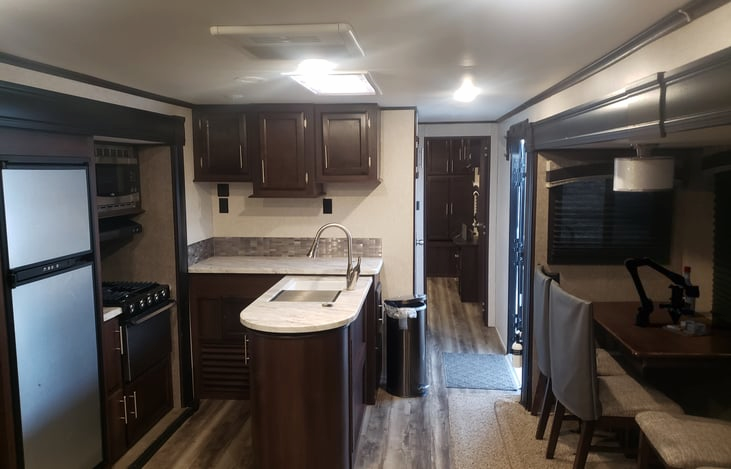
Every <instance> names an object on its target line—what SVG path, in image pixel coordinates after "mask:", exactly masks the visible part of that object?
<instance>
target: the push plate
mask: <svg viewBox="0 0 731 469" xmlns="http://www.w3.org/2000/svg"><path fill="white" fill-rule="evenodd" d="M694 323H695V321H694V320H692V319H691V320H689V319H688V320H681V321H680V324H681V326H677V327H678V328H683V329H684V330H687V325H688V324H694Z"/></svg>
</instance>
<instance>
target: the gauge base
mask: <svg viewBox="0 0 731 469" xmlns="http://www.w3.org/2000/svg"><path fill="white" fill-rule="evenodd" d="M677 326H681V323H680V324H670V325H664V326H662V330H665V331H668V332H671V333H674V334H677V335H679V336H683V337H687V338H690V337H698V336H707V335H709V331H707V330H706V329H707V328H706V327H707V326H706V324H703V323H701V322H694V324H688V325H687V330H684V329H683V328H678V327H677Z"/></svg>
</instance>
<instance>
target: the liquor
mask: <svg viewBox="0 0 731 469" xmlns="http://www.w3.org/2000/svg"><path fill="white" fill-rule="evenodd" d="M691 272H692V266H687V265H685V266H684V267H683V277H684V278H685V283H686V284H687V285H692V286H694V284H692V282H691ZM678 286H679V287H682V286H681V285H678ZM683 299H685V302H687V303H690V304H692V305H691V307H690V309H692V310H694V315H688V316H686V315H681V317H684V318H693V317H694V316H696V299H697V298H690V297H686V295H684V290H683ZM682 309H687V308H682ZM678 310H679V309H678Z"/></svg>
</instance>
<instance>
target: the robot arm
mask: <svg viewBox="0 0 731 469" xmlns="http://www.w3.org/2000/svg"><path fill="white" fill-rule="evenodd" d="M623 263H624V267H625V268H626V269H627V271H628V273H629V274H630V276H631V279H632V281H633V284H634V287H635V290H636V292H637V294H638V297H639V303H640V304H639V305H640V306H639V307H637V309H636V312H637V314H636V315H635V316H636V317H635V318H636V319H635V323H633V325H635V326H637V327H641V328H646V327H647V328H648V327H652V325H651V324H650V319H651V317H650V315H651V314H652V313H653V312H654V310H655V305H654V304H653V300H652V298H651V297H648V296H647V294H646V290H645V288H644V286H643V283H642V280H641V278H640V276H639V270H638V268H640V267H642V266H648V267H649V268H652V269H653V270H655V271H656V272H658V273H660V274H661V275H663V276H665V278H667V279H669V280H670V281H671V282H672V283H670V284H669V285H667V288H668V289H670V290H671V294H670V295H671V296H670V297H669V299H668V300H669V301H670V302H660V303H659V304H658V308H659V309H661V310H664V309H665V308H666V309H667V310H666V312H667V313H668V315H669V316H670V318H671V320H672V323H673V325H678V323H679V320H680V318H681V317H682V316H681V315H686V316H688V315H694V310H692V309H690V307H691V305H692V304H690V303H687V302H685V299H683V290H684V295H686V297H690V298H696V299H699V298H700V295H701V293H700V286H699V285H693V284H692V285H693V286H692V285H687V284H686V283H685V278H684V275H682V274H680V273H678V272H676V271H673V270H670V269H667V268H666V267H664V266H663V265H661V264H660V263H658V262H656V261H654V260H653V259H651V258H649V257H648V256H644V257H636V258H631V257H628V258H626V259H625V260H624V262H623ZM673 284H675V285H673ZM680 285H681V286H682V287H679V286H680ZM682 308H687V309H682ZM678 309H679V310H678ZM694 316H695V315H694Z"/></svg>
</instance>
